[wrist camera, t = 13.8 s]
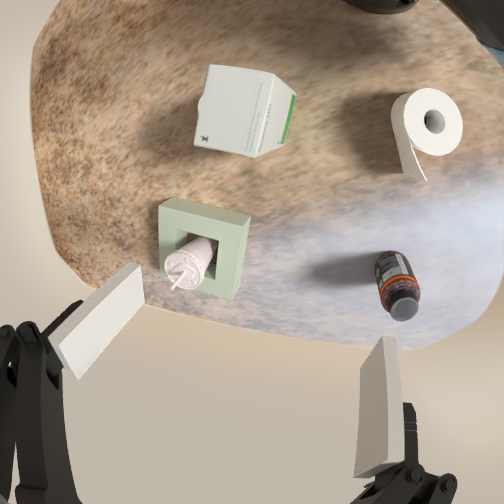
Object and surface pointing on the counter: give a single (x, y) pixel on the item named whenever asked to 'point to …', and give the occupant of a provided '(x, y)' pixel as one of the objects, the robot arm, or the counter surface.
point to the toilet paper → (424, 127)
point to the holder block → (212, 226)
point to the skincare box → (243, 111)
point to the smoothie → (190, 263)
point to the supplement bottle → (397, 286)
